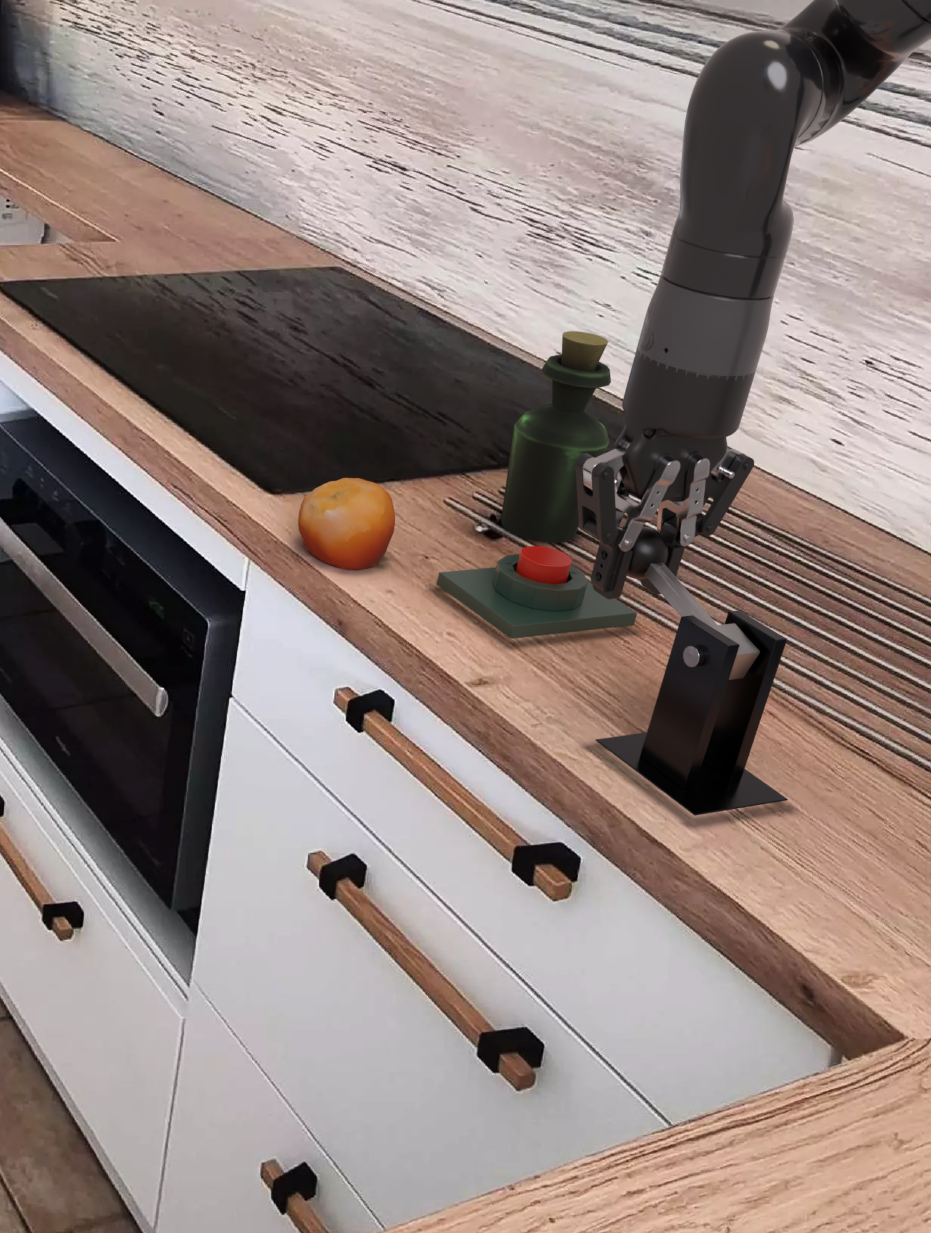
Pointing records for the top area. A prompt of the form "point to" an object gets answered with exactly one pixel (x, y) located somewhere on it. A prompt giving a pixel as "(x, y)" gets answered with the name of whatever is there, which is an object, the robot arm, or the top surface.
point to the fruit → (347, 523)
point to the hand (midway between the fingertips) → (629, 590)
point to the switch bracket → (707, 719)
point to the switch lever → (683, 594)
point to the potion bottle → (556, 444)
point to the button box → (533, 601)
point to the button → (544, 565)
